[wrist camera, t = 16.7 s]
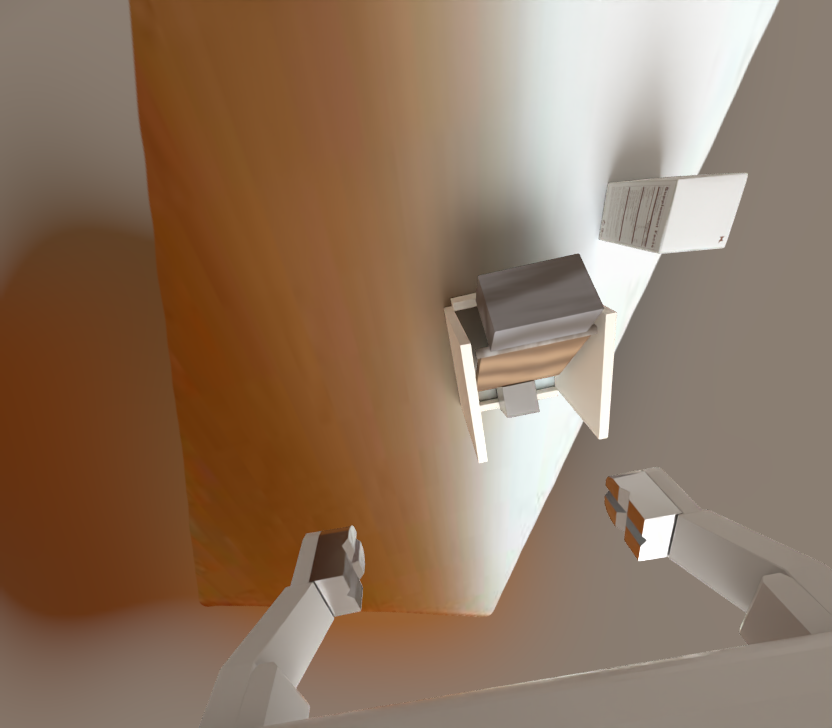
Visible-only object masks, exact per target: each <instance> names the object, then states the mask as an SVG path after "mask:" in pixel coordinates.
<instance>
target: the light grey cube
mask: <svg viewBox="0 0 832 728" xmlns="http://www.w3.org/2000/svg"><path fill="white" fill-rule="evenodd" d="M496 389H497V395H498V400H499V406H500V410H501V411H502V412H503V413H504V414H505V416H506V417H507V418H511V417H516V416H521V415H526V414H531V413H536V412H540V411H539V405H538V399H537V393H536V387H535V381H534V380H532V381H527V382H523V383H518V384H513V385H508V386H503V387H498V388H496Z"/></svg>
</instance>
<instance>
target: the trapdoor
mask: <svg viewBox="0 0 832 728" xmlns="http://www.w3.org/2000/svg"><path fill="white" fill-rule="evenodd" d="M476 304H477V307H478V310H479V314H480V317H481V321H482V324H483V328H484V331H485V334H486V338H487V341H488V345H489V346H488V347H483V348H478V349H475V354H476V358H477V359H478V363H477V370H476V384H477V391H478V392H479V391H484V390H489V389H494V388H498V387H503V386H508V385H513V384H518V383H523V382H527V381H532V380H537V379H542V378H547V377H552V376H557V375H560V373H561V372H562V371H563V370H564V368H565V367H566V366H567V365H568V363H569V362H570V361H571V360H572V358H573V357H574V356H575V355H576V353H577V352H578V351H579V350H580V348H581V347H582V346H583V345H584V343H585V342H586V341H587V340H588V339H589V337H590V336H591V335H594V334H597V333H598V328H597V326H596V324H593V323H594V321H595V320H596V319H597V317H598V316H599V315H600V314H601V312H602V311H603V310H604V306H603V304H602V302H601V300H600V298H599V296H598V294H597V291H596V289H595V287H594V285H593V283H592V281H591V278H590V276H589V274H588V272H587V270H586V268H585V266H584V263H583V261H582V259H581V257H580V255H579V254H574V255H569V256H565V257H560V258H556V259H551V260H547V261H542V262H538V263H533V264H529V265H524V266H520V267H515V268H511V269H506V270H502V271H497V272H492V273H488V274H483V275H479V276H478V279H477V291H476Z"/></svg>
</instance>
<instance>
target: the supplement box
mask: <svg viewBox="0 0 832 728" xmlns="http://www.w3.org/2000/svg"><path fill="white" fill-rule="evenodd" d="M747 176H748V173H727V174H726V173H725V174H707V175H691V176H676V177H663V178H652V179H641V180H631V181H621V182H610V183H608V186H607V192H606V198H605V204H604V210H603V216H602V222H601V229H600V235H599V240H602V241H606V242H611V243H615V244H619V245H624V246H628V247H632V248H636V249H640V250H645V251H649V252H654V253H659V254H663V253H672V252H683V251H696V250H705V249H717V248H724V247H725V244H726V242H727V239H728V236H729V233H730V230H731V227H732V224H733V220H734V218H735V214H736V211H737V208H738V205H739V202H740V199H741V196H742V193H743V189H744V186H745V183H746V180H747Z"/></svg>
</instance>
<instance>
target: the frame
mask: <svg viewBox="0 0 832 728" xmlns="http://www.w3.org/2000/svg"><path fill="white" fill-rule="evenodd" d="M450 299H451V305H452V306H450V307H445V308H444V312H445V318H446V323H447V329H448V335H449V340H450V346H451V352H452V358H453V363H454V369H455V375H456V380H457V386H458V392H459V398H460V403H461V408H462V411H463V414H464V417H465V420H466V423H467V427H468V430H469V433H470V436H471V439H472V442H473V446H474V449H475V452H476V455H477V458H478V461H479V463H482V462H487V461H488V460H487V453H486V446H485V439H484V432H483V425H482V419H481V411H486V410H491V409H496V408H500V406H499V400H498V398H496V399H491V400H486V401H481V402H479V398H478V391H477V384H476V377H475V370H474V363H473V356H472V349H471V343H470V341H469V339H468V337H467V335H466V333H465V331H464V329H463V327H462V325H461V323H460V321H459V319H458V318H457V316H456V314H455V312H454V311H457V310H462V309H466V308H471V307H476V306H477V304H476V293H473V294H468V295H464V296H459V297H455V298H450ZM603 306H604V305H603ZM616 317H617V312H615V311H614V310H612V309H610V308H608V307H606V306H604V310H603V311H602V312H601V314H600V315H599V316H598V317H597V319H596V320H595V321H594V323H593V324H596V326H597V328H598V333H597V334H594V335H591V336H590V337H589V339H588V340H587V341H586V342H585V343H584V345H583V346H582V347H581V348H580V350H579V351H578V352H577V353H576V355H575V356H574V357H573V358H572V360H571V361H570V362H569V363H568V365H567V366H566V367H565V368H564V370H563V371H562V372H561V373H560V375H557V376H555V386H554V387H549V388H544V389H540V390H536V393H537V399H538V400H540V399H545V398H550V397H555V396H558V391H559V392H560V393H561V394H562V396H563V397H564V398H565V399H566V400H567V402H568V403H569V404H570V405H571V406H572V408H573V409H574V410H575V411H576V412H577V414H578V415H579V416H580V417H581V418H582V420H583V421H584V422H585V423H586V424H587V426H588V427H589V428H590V429H591V430H592V432H593V433H594V434H595V435H596V436H597V438H598V439H603V438H608V428H609V415H610V400H611V387H612V373H613V358H614V345H615V331H616Z"/></svg>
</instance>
